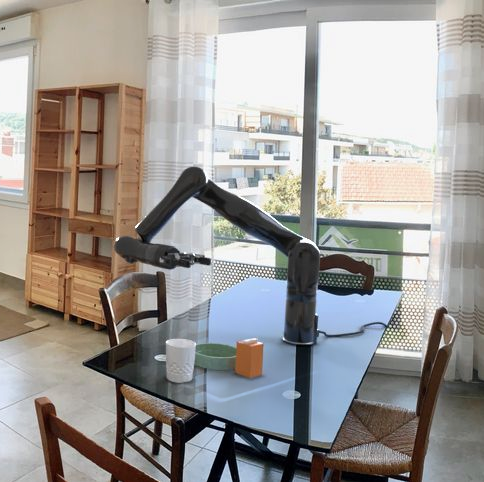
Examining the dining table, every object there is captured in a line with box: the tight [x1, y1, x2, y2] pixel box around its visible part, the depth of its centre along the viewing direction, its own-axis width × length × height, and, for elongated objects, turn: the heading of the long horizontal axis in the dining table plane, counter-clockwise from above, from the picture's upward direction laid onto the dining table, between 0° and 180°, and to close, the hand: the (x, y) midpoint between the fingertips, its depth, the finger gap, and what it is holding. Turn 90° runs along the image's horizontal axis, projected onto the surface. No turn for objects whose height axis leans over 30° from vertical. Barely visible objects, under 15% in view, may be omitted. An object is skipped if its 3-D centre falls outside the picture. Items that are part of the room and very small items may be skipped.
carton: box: [234, 337, 264, 379], centre depth 168 cm, size 5×5×10 cm
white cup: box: [165, 338, 197, 384], centre depth 165 cm, size 8×8×10 cm
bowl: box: [194, 342, 237, 371], centre depth 178 cm, size 14×14×4 cm
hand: (200, 263), depth 183 cm, fingers open, 8 cm apart
